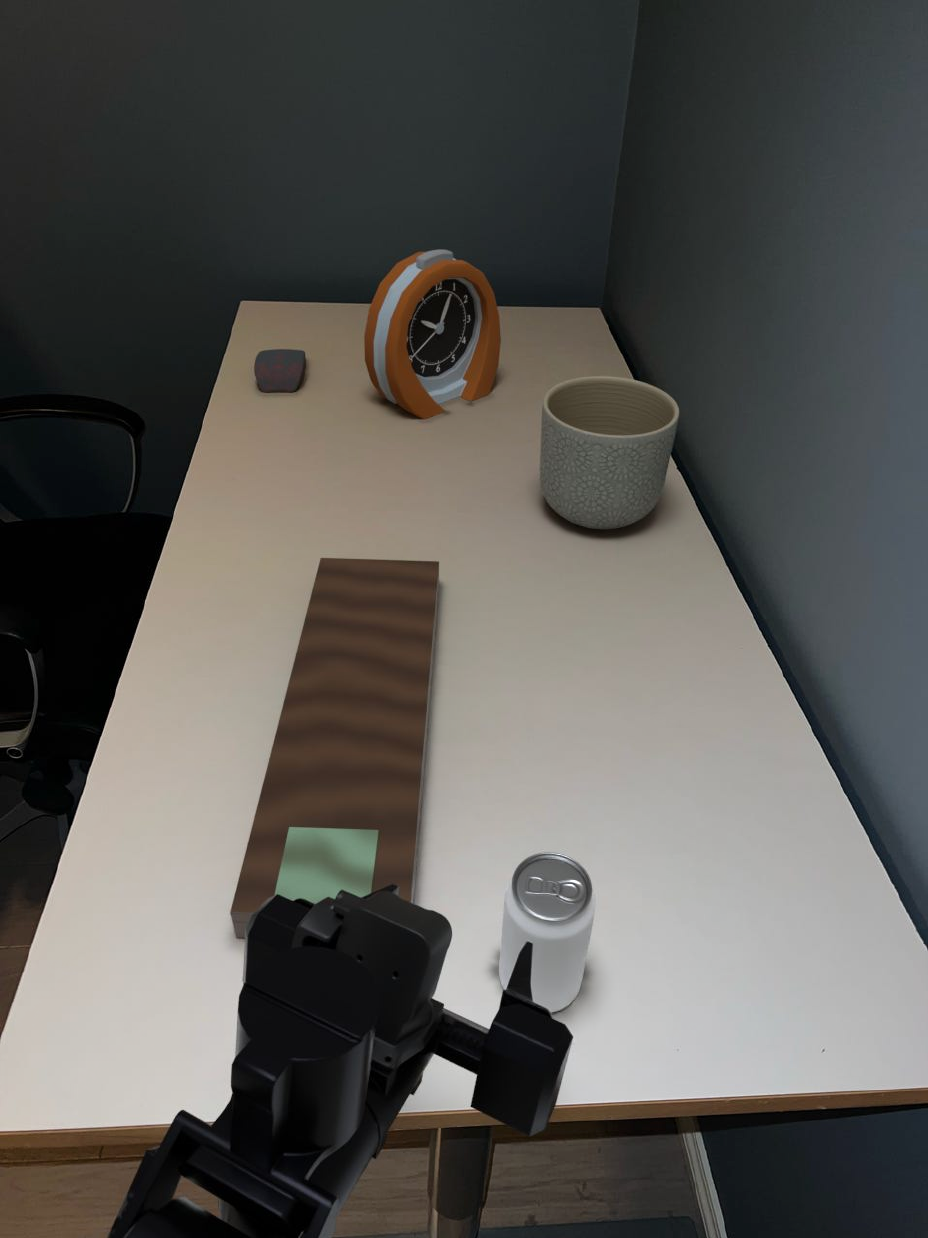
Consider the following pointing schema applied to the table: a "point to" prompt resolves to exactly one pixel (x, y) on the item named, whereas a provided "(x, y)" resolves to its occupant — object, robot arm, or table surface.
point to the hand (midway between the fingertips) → (460, 918)
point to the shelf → (348, 741)
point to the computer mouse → (279, 369)
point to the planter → (605, 449)
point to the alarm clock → (432, 333)
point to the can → (548, 926)
